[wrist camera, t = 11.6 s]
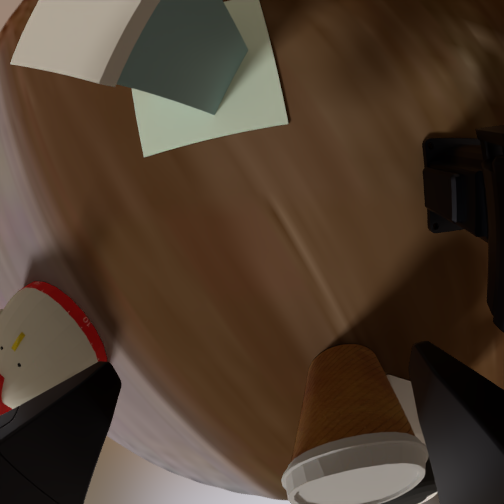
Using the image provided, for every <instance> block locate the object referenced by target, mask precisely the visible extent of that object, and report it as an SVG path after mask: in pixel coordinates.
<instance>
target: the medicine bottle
mask: <svg viewBox="0 0 504 504" xmlns="http://www.w3.org/2000/svg"><path fill="white" fill-rule="evenodd" d="M386 376H387V378H388V381H389V382H390V384H391V386H392V388H393V390H394V392H395V394H396V397H397V398H398V400H399V402H400V404H401V406H402V408H403V410H404V412H405V415H406V416H407V418H408V421H409V423H410V425H411V427H412V429H413V432H414V434H415V436H416V437H417V438H418V439H419V440H420V441H421V442H422V443H424V444H425V440H424V437H423V433H422V430H421V427H420V423H419V419H418V414H417V409H416V404H415V399H414V394H413V389H412V385H411V381H408V380H405V379H402V378H398V377H395V376H392V375H386ZM425 446H426V444H425ZM437 493H438V492H437V487H436V483H435V479H434V474H433V470H432V466H431V462H430V458H429V457H428V460H427V462H426V468H425V476H424V478H423V479H422V480H421V482H420V483H419V484H418V485H417V486H415V487H414V488H412V489H411V490H410V491H408V492H406V493H404V494H403V495H401V496H399V497H397V498H395V499H392V500H390V501H387V502H384V503H381V504H421V503H423V502H425V501H427V500H429V499H431V498H432V497H433V496H435V495H436V494H437Z"/></svg>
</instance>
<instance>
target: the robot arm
mask: <svg viewBox="0 0 504 504" xmlns="http://www.w3.org/2000/svg"><path fill="white" fill-rule="evenodd" d="M476 134H477V138H478V139H471V138H431V139H425V140H424V141H423V143H422V147H423V155H424V165H425V168H424V170H423V180H424V196H425V207H426V208H427V215H428V229H429V230H430V231H431V232H433V233H441V232H448V231H455V230H462V229H465V230H467V231H468V232H470V233H472V234H473V235H475V236H476V237H479V238H481V239H483V240H484V241H486V242H487V243H488V284H487V304H488V306H489V308H490V311H491V313H492V315H493V316H494V317H493V322H494V324H495V325H496V326H497V327H498V328H499V329H500V330H501V331H502V332H504V125H500V126H492V127H486V128H479V129H476ZM429 143H431V145H432V148H431V149H429V148H428V144H429ZM434 223H436V227H435V228H433V225H434ZM409 376H410V380H411V385H412V389H413V394H414V399H415V404H416V409H417V414H418V419H419V423H420V427H421V430H422V433H423V437H424V440H425V444H426V447H427V451H428V455H429V458H430V462H431V466H432V470H433V474H434V479H435V483H436V487H437V492H438V496H439V502H440V504H504V390H503V389H501V388H500V387H498V386H497V385H495V384H494V383H492V382H491V381H489V380H488V379H486V378H485V377H483V376H482V375H480V374H479V373H477V372H475V371H474V370H472V369H471V368H469V367H468V366H466V365H465V364H463V363H462V362H460V361H458V360H457V359H455V358H454V357H452V356H451V355H449V354H448V353H446V352H444V351H443V350H441V349H440V348H438V347H437V346H435V345H433V344H432V343H430V342H429V341H423V342H418V343H415V344H414V345H413V346H412V351H411V357H410V362H409ZM120 389H121V380H120V378H119V376H118V375H117V373H116V371H115V369H114V368H113V366H112V364H111V363H109V362H104V361H99V362H97V363H95V364H93V365H91V366H90V367H88V368H86V369H84V370H83V371H81V372H79V373H77V374H75V375H74V376H72V377H70V378H68V379H67V380H65V381H63V382H61V383H59V384H58V385H56V386H54V387H52V388H50V389H49V390H47V391H45V392H43V393H41V394H40V395H38V396H36V397H34V398H32V399H30V400H29V401H27V402H25V403H23V404H21V405H20V406H18V407H16V408H14V409H12V410H10V411H8V412H6V413H4V414H2V415H0V504H84V500H85V497H86V494H87V491H88V487H89V484H90V481H91V478H92V475H93V472H94V469H95V466H96V463H97V461H98V457H99V455H100V452H101V449H102V446H103V444H104V441H105V438H106V435H107V433H108V430H109V427H110V424H111V421H112V418H113V414H114V410H115V407H116V403H117V400H118V396H119V393H120Z"/></svg>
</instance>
